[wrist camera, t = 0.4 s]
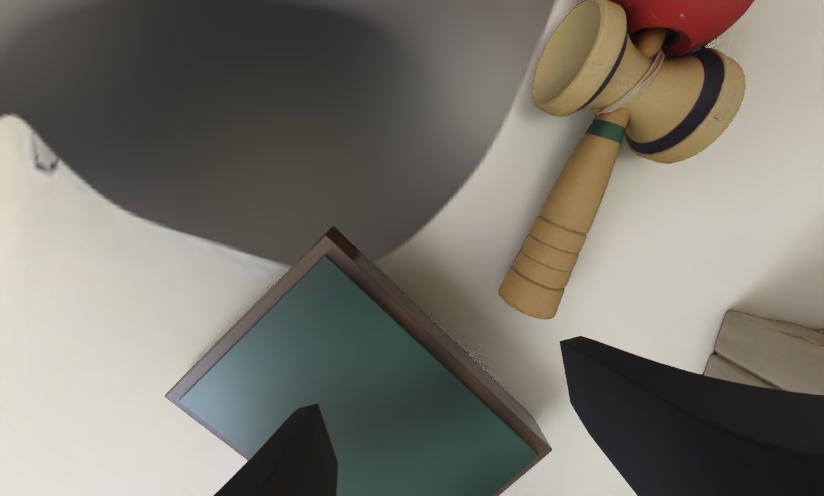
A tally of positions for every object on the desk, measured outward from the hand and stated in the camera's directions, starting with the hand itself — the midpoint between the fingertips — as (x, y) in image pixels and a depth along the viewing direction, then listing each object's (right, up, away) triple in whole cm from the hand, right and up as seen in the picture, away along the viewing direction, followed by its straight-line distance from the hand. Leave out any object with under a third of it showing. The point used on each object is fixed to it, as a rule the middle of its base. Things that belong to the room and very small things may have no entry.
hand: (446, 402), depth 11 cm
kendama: (+7, +10, +9) cm, 15 cm away
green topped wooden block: (-3, -4, +11) cm, 12 cm away
